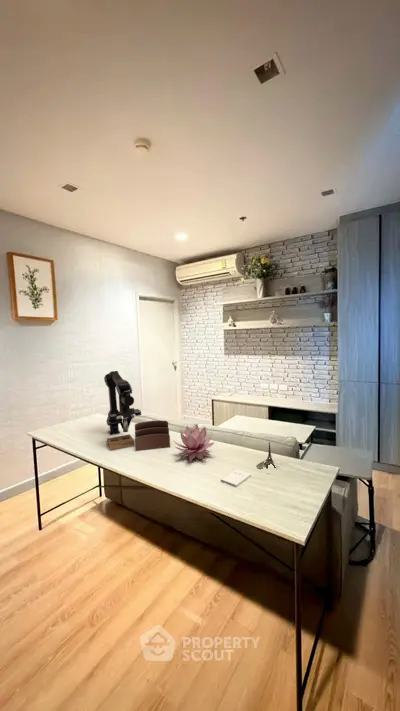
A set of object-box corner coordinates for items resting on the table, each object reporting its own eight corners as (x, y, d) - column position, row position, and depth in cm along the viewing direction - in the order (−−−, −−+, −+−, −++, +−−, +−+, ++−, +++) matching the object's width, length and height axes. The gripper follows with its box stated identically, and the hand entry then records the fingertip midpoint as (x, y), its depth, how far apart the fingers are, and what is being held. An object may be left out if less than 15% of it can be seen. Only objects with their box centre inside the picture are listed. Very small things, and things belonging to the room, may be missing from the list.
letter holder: (135, 445, 178) (134, 422, 177) (168, 441, 181) (167, 418, 180) (135, 451, 168) (133, 427, 167) (170, 447, 172) (169, 423, 171)
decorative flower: (188, 446, 172) (187, 420, 171) (221, 452, 161) (220, 425, 160) (165, 460, 154) (164, 432, 153) (201, 468, 143) (200, 438, 142)
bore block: (106, 444, 180) (106, 438, 180) (129, 439, 187) (129, 434, 186) (110, 450, 170) (109, 444, 169) (134, 445, 176) (134, 440, 176)
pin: (122, 431, 180) (121, 418, 179) (127, 430, 181) (126, 417, 180) (123, 432, 177) (122, 419, 176) (128, 431, 178) (128, 418, 178)
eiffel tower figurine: (268, 458, 153) (268, 433, 152) (286, 464, 146) (286, 438, 145) (251, 469, 142) (250, 442, 141) (270, 475, 135) (269, 447, 134)
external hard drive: (220, 482, 130) (236, 471, 140) (236, 488, 125) (251, 476, 134) (220, 479, 130) (236, 468, 140) (236, 484, 125) (251, 473, 134)
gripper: (110, 407, 166) (112, 435, 168) (142, 403, 175) (144, 429, 176) (107, 403, 176) (108, 429, 178) (138, 399, 185) (139, 424, 186)
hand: (125, 428), depth 179 cm, fingers closed on pin, 3 cm apart
